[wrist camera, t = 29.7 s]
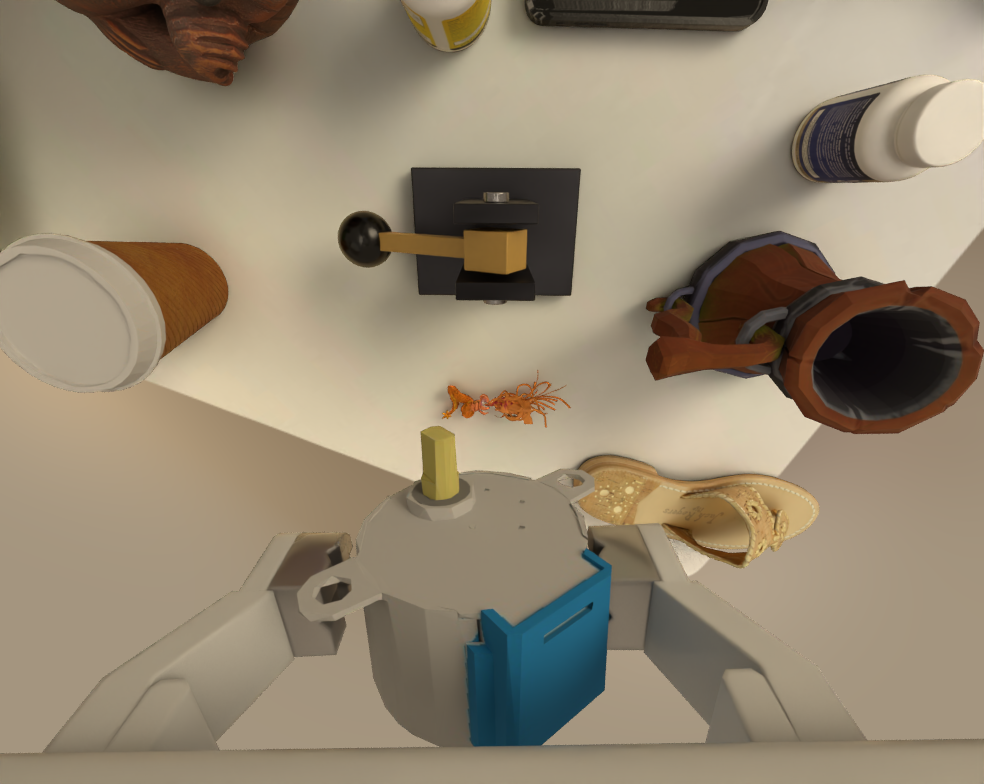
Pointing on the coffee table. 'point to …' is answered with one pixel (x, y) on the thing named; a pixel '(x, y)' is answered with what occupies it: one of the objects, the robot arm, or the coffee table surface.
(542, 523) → the electric motor
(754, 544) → the sandal
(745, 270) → the mug
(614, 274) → the coffee table surface
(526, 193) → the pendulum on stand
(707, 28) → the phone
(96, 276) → the disposable coffee cup
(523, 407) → the dragon
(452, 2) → the supplement bottle
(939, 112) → the pill bottle
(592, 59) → the coffee table surface
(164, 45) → the brown clay rounded piece
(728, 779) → the robot arm
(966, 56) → the coffee table surface
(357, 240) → the lever
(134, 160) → the coffee table surface
